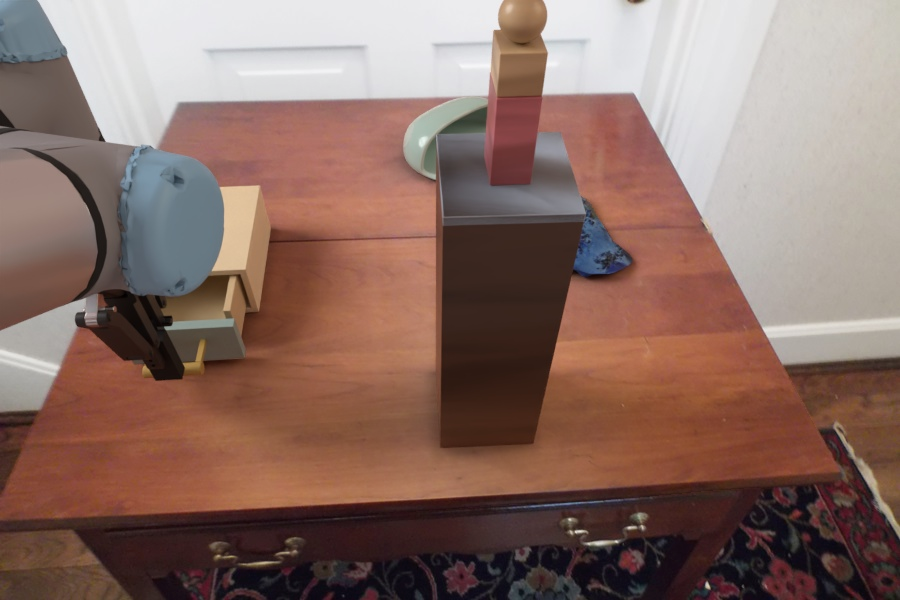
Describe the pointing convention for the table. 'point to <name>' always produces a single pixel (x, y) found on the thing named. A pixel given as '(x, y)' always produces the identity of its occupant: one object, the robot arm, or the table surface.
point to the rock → (598, 248)
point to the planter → (442, 130)
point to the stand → (500, 288)
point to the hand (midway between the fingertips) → (170, 374)
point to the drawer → (207, 323)
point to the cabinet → (244, 240)
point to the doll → (515, 91)
